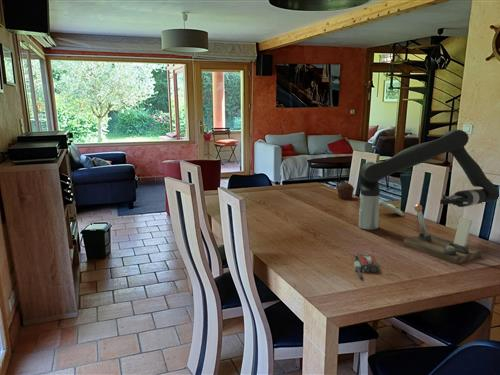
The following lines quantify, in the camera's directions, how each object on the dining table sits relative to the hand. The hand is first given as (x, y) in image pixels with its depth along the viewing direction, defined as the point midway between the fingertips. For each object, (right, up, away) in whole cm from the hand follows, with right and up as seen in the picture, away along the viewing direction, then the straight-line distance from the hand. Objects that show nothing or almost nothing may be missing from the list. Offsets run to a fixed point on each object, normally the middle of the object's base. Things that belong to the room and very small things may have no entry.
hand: (442, 202), depth 176 cm
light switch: (-5, -9, +50) cm, 51 cm away
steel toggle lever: (-8, -15, -2) cm, 17 cm away
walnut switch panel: (-4, -20, -8) cm, 22 cm away
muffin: (-21, -1, +91) cm, 94 cm away
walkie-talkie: (-42, -25, -26) cm, 55 cm away
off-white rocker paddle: (-1, -17, -16) cm, 23 cm away
